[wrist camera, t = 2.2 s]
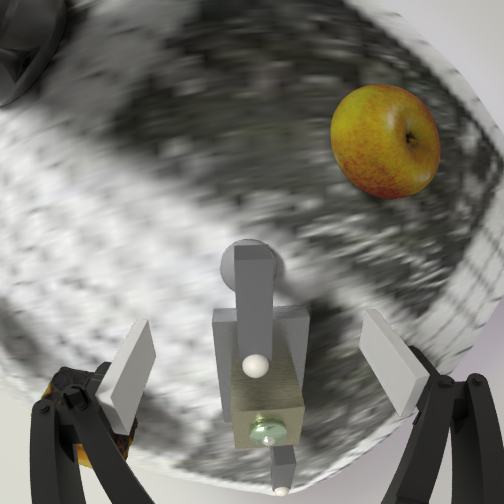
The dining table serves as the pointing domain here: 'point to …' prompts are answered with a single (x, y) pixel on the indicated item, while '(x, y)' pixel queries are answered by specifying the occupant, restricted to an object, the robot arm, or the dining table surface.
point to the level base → (281, 344)
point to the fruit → (385, 141)
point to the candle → (54, 394)
